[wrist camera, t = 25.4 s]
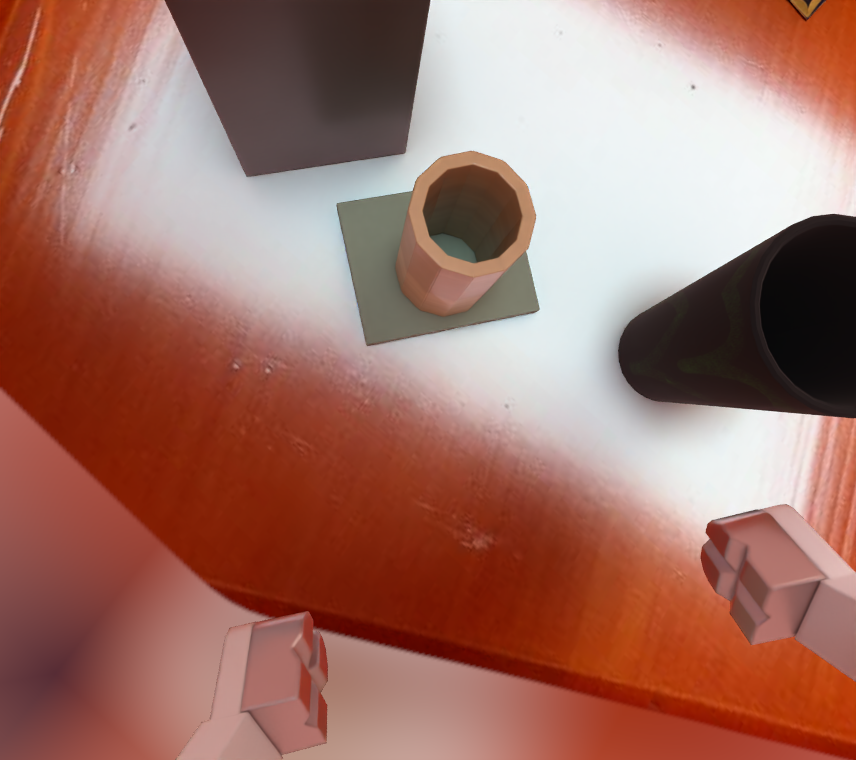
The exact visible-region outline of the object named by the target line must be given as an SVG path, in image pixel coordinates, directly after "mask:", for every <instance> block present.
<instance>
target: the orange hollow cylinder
mask: <svg viewBox="0 0 856 760" xmlns="http://www.w3.org/2000/svg"><path fill="white" fill-rule="evenodd" d="M535 220H536V214H535V210H534V207H533V203H532V200H531V196H530V193H529V189H528V186H527V184H526V183H525V182H524V181H523V180H522V179H521V178H520V177H519V176H518V175H517V174H516V173H515V172H514V171H513V170H512V169H511V168H510V166H509V165H508V164H507V163H506V162H504V161H503V160H500V159H497V158H494V157H491V156H488V155H484V154H481V153H478V152H475V151H468V152H463V153H458V154H453V155H448V156H443V157H441V158H439V159H438V160H436V161H435V162H434V163H433V164H432V165H431V166H430V167H429V168H428V169H427V170H426V171H424V172H423V173H422V174H421V175H420V176H419V177H418V178H417V180H416V182H415V185H414V189H413V192H412V196H411V200H410V203H409V207H408V211H407V215H406V220H405V224H404V229H403V233H402V238H401V242H400V247H399V252H398V256H397V261H396V265H395V270H396V273H397V277H398V281H399V285H400V288H401V291H402V293H403V294H404V295H405V296H406V297H407V298H408V299H409V300H410V301H411V302H412V303H413V304H414V305H415V306H416V307H417V308H418V309H420V310H421V311H425V312H428V313H432V314H435V315H438V316H442V317H443V316H444V317H445V316H449V315H453V314H457V313H461V312H465V311H468V310H469V309H470V308H471V307H472V306H473V305H474V304H475V303H476V302H477V301H478V300H479V299H480V298H481V297H482V296H483V295H484V294H485V293H486V292H487V291H488V290H489V289H490V288H491V287H492V286H493V285H494V284H495V283H496V282H497V281H498V279H499V278H500V277H501V276H502V275H503V274H504V273H505V272H506V271H507V270H508V269H509V268H510V267H511V266H512V265H513V264H514V263H515V262H516V261H517V260H518V259H519V258H520V257H521V256H522V254H523V253H524V252H525V251H526V250H527V249H528V247H529V244H530V240H531V236H532V232H533V228H534V224H535ZM441 233H445V234H448V235H451V236H455V237H458V238H461V239H462V240H463V241H464V242H465V243H466V244H467V245H468V246H469V247H470V248H471V249H472V250H473V251H474V252H475V255H476V259H477V263H471V262H468V261H464V260H461V259H458V258H454V257H451V256H448V255H447V254H446V253H445V252H444V251H443V250H442V249H441V248H440V247H439V246H438V245H437V244H436V243H435V242H434V241H433V240H432V239H431V238H430V237H429V236H432V235H436V234H441Z"/></svg>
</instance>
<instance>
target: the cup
mask: <svg viewBox="0 0 856 760" xmlns="http://www.w3.org/2000/svg"><path fill="white" fill-rule="evenodd" d="M618 352H619V363H620V366H621V370H622V373H623V375H624V376H625V378H626V380H627V382H628V383H629V384H630V385H631V386H632V387H633V389H634V390H635V391H637V392H638V393H640V394H641V395H643V396H644V397H646V398H649V399H652V400H654V401H662V402H673V403H685V404H696V405H708V406H719V407H731V408H742V409H754V410H765V411H777V412H788V413H800V414H811V415H823V416H834V417H846V418H856V217H853V216H846V215H839V214H828V215H820V216H812V217H810V218H807V219H805V220H802V221H800V222H798V223H795V224H793V225H791V226H789V227H788V228H786V229H784V230H782V231H781V232H779V233H777V234H776V235H774V236H772V237H771V238H769V239H767V240H765V241H764V242H762V243H760V244H759V245H757V246H755V247H753V248H752V249H750V250H748V251H747V252H745V253H743V254H742V255H740V256H738V257H736V258H735V259H733V260H731V261H730V262H728V263H726V264H725V265H723V266H721V267H719V268H718V269H716V270H714V271H713V272H711V273H709V274H707V275H706V276H704V277H702V278H701V279H699V280H697V281H696V282H694V283H692V284H690V285H689V286H687V287H685V288H684V289H682V290H680V291H679V292H677V293H675V294H673V295H672V296H670V297H668V298H667V299H665V300H663V301H662V302H660V303H658V304H656V305H655V306H653V307H651V308H650V309H648V310H646V311H644V312H643V313H641V314H639V315H638V316H637V317H635V318H634V319H633V320H632V321H631V322H630V323H629V324H628V326H627V327H626V328H625V330H624V332H623V334H622V337H621V339H620V344H619V350H618Z"/></svg>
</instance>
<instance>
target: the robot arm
mask: <svg viewBox="0 0 856 760" xmlns="http://www.w3.org/2000/svg"><path fill="white" fill-rule="evenodd" d="M706 534H707V535H708V536H709V538H710V539H709V540H708V541H707V542H706V543H705V544H704V545H703V546H702V552H701V562H702V566H703V570H704V573H705V575H706V577H707V579H708V581H709V583H710V584H711V586H712V587H713V589H714V590H715V592H716V593H717V594H719V595H721V596H723V597H724V598H726V599H728V600H729V601H730V614H731V616H732V617H733V619H734V620H735V622H736V623H737V625H738V626H739V628H740V629H741V631H742V632H743V633H744V635H745V636H746V638H747V639H748V641H749V642H750V644H751V645H754V644H759V643H764V642H769V641H774V640H779V639H784V638H789V637H794V636H796V637H795V640H797V641H798V642H800V643H801V644H803V645H804V646H805V647H807V648H808V649H810V650H811V651H813V652H814V653H815V654H817V655H818V656H820V657H821V658H823V659H824V660H825V661H827V662H828V663H830V664H831V665H833V666H834V667H835V668H837V669H838V670H840V671H841V672H843V673H844V674H845V675H847V676H848V677H850V678H851V679H853V680H854V681H855V682H856V572H855V571H854V570H853V569H852V568H851V567H850V566H849V565H848V564H847V563H846V562H845V561H844V560H843V559H842V558H841V557H840V556H839V555H838V554H837V553H836V552H835V551H834V550H833V549H832V547H831V546H830V545H829V544H828V543H827V542H826V541H825V540H824V539H823V538H822V537H821V536H820V535H819V534H818V533H817V532H816V531H815V530H814V529H813V528H812V527H811V526H810V525H809V524H808V523H807V522H806V520H805V519H804V518H803V517H802V516H801V515H800V514H799V513H798V512H797V511H796V510H795V509H794V508H792V507H791V506H789V505H787V504H783V505H777V506H772V507H768V508H764V509H760V510H753V511H748V512H744V513H740V514H736V515H732V516H728V517H724V518H720V519H715V520H712V521H711V522H709V523H708V524H707V528H706ZM327 668H328V665H327V657H326V649H325V645H324V642H323V639H322V636H321V634H320V632H317V631H315V630H313V618H312V617H311V615H310V613H309V612H308V611H306V612H301V613H297V614H292V615H287V616H283V617H278V618H273V619H269V620H264V621H260V622H253V623H249V624H244V625H240V626H235V627H231V628H229V631H228V633H227V635H226V637H225V640H224V645H223V651H222V656H221V662H220V667H219V672H218V678H217V683H216V688H215V694H214V699H213V704H212V710H211V715H210V720H208V721H204V722H201V724H200V725H199V727H198V728H197V729H196V731H195V732H194V734H193V735H192V737H191V738H190V740H189V741H188V742H187V744H186V746H185V747H184V748H183V750H182V751H181V752H180V754H179V755H178V757H177V758H176V760H282V759H283V757H282V756H281V755H283V754H287V753H291V752H295V751H299V750H302V749H306V748H310V747H314V746H318V745H321V744H325V743H326V738H327V737H326V736H327V704H326V703H325V700H324V699H323V697H322V695H321V691H322V690H323V688H324V686H325V684H326V683H327V681H328V678H327V677H328V675H327V674H328V673H327V671H328V669H327Z"/></svg>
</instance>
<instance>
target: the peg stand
mask: <svg viewBox="0 0 856 760" xmlns="http://www.w3.org/2000/svg"><path fill="white" fill-rule="evenodd" d="M165 2H166V4H167V6H168V8H169V10H170V13H171V15H172V17H173V19H174V21H175V23H176V26H177V28H178V30H179V32H180V34H181V36H182V38H183V41H184V43H185V45H186V47H187V49H188V51H189V54H190V56H191V58H192V60H193V62H194V64H195V66H196V69H197V71H198V73H199V75H200V77H201V79H202V82H203V84H204V86H205V88H206V90H207V92H208V94H209V97H210V99H211V101H212V103H213V105H214V107H215V110H216V112H217V114H218V116H219V118H220V120H221V123H222V125H223V127H224V129H225V131H226V133H227V135H228V138H229V140H230V142H231V144H232V146H233V148H234V151H235V153H236V155H237V157H238V159H239V161H240V163H241V166H242V168H243V170H244V172H245V174H246V176H254V175H261V174H267V173H274V172H281V171H288V170H294V169H301V168H308V167H314V166H321V165H328V164H334V163H341V162H348V161H354V160H361V159H368V158H375V157H381V156H388V155H395V154H401V153H405V152H406V146H407V140H408V133H409V127H410V121H411V115H412V109H413V103H414V97H415V91H416V85H417V79H418V73H419V67H420V61H421V54H422V48H423V42H424V36H425V30H426V24H427V18H428V12H429V6H430V0H165Z"/></svg>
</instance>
